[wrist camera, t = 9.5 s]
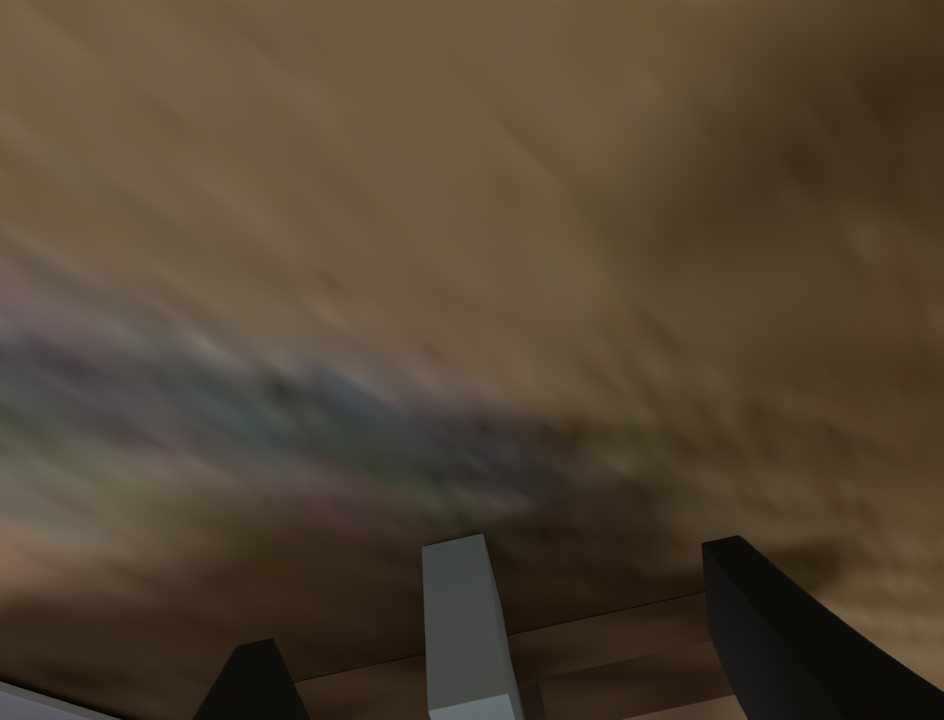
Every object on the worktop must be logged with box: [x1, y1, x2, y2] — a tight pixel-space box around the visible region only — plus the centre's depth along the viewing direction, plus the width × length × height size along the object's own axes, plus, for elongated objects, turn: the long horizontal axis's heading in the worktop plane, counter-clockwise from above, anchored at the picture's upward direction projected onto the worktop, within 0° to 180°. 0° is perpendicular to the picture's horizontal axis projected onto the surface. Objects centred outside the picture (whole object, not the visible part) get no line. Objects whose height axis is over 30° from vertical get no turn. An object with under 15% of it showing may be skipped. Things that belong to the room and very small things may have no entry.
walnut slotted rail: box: [294, 592, 748, 720], centre depth 24 cm, size 18×2×4 cm, turn 102°
